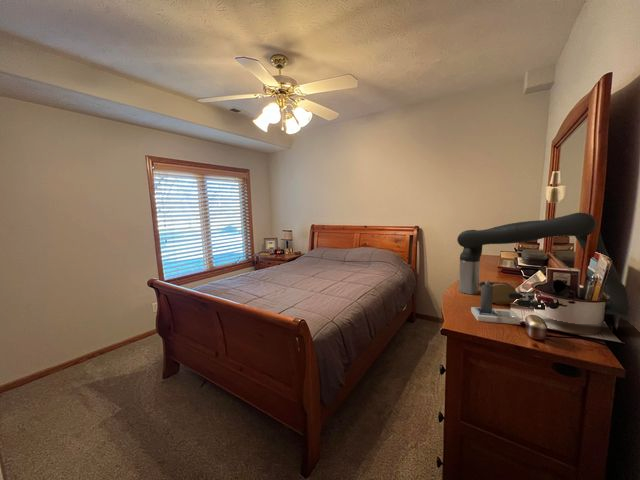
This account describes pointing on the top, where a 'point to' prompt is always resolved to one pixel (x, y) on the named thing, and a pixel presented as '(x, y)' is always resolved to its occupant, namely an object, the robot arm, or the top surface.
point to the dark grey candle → (486, 298)
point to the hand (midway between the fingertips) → (513, 299)
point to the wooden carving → (502, 293)
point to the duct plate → (496, 316)
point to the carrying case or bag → (489, 283)
